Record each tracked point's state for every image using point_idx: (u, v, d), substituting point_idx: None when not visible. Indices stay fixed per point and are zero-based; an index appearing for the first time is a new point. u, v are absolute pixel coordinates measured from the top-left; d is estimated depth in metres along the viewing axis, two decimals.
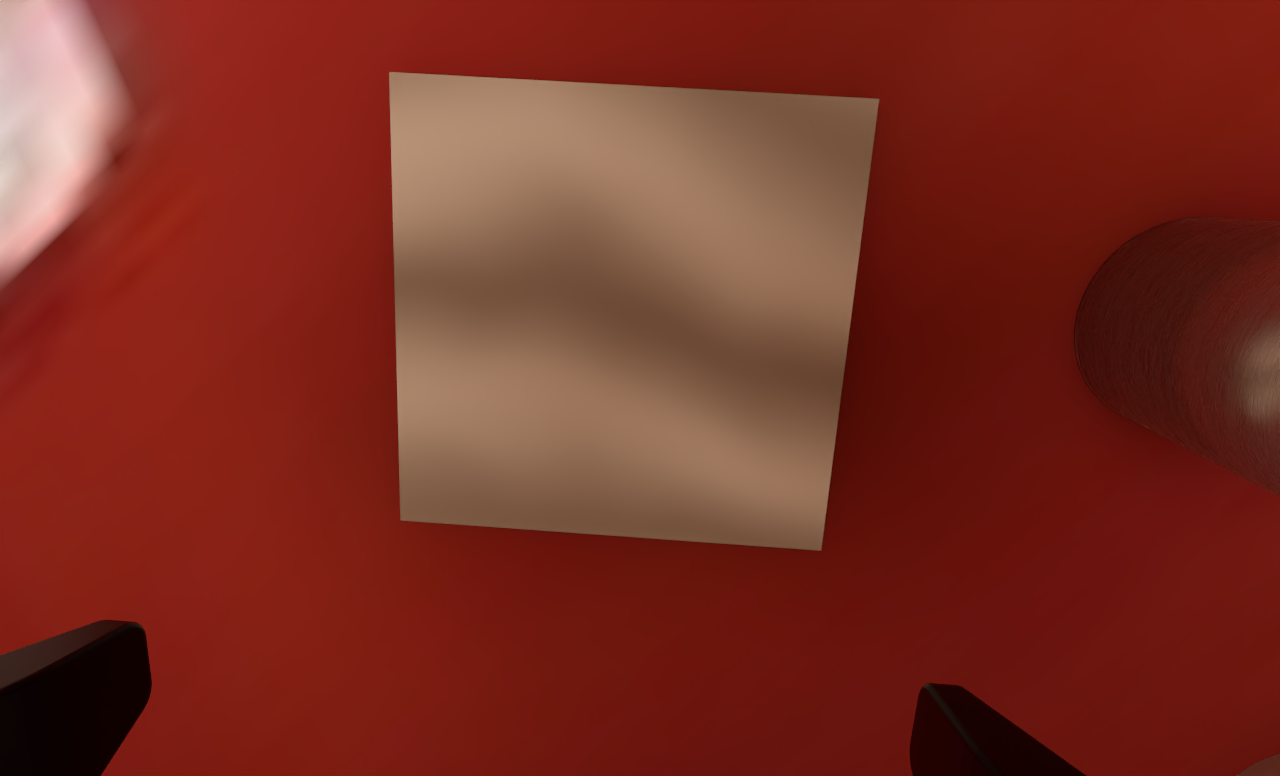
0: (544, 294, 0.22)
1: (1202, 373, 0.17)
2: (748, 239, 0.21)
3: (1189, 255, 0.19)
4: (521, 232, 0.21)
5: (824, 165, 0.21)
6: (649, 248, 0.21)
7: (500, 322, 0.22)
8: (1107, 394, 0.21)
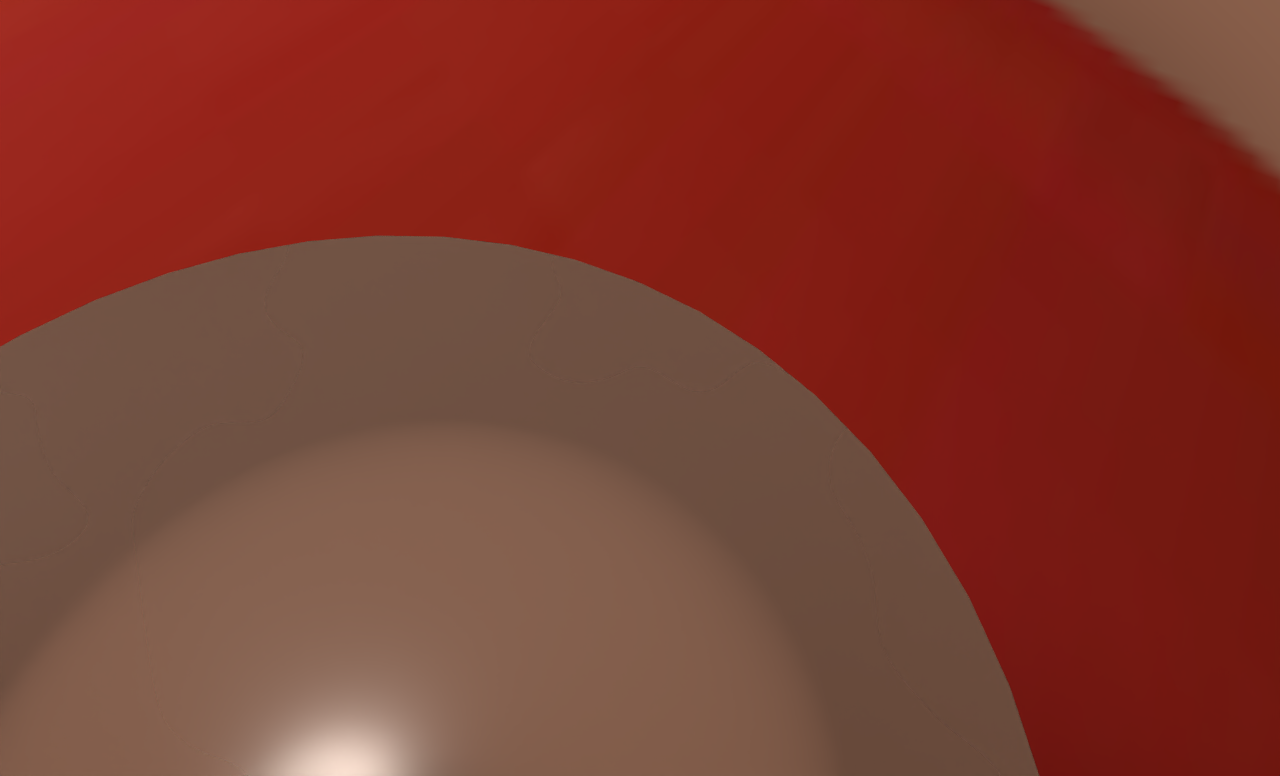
0: None
1: None
2: None
3: None
4: None
5: None
6: None
7: None
8: None
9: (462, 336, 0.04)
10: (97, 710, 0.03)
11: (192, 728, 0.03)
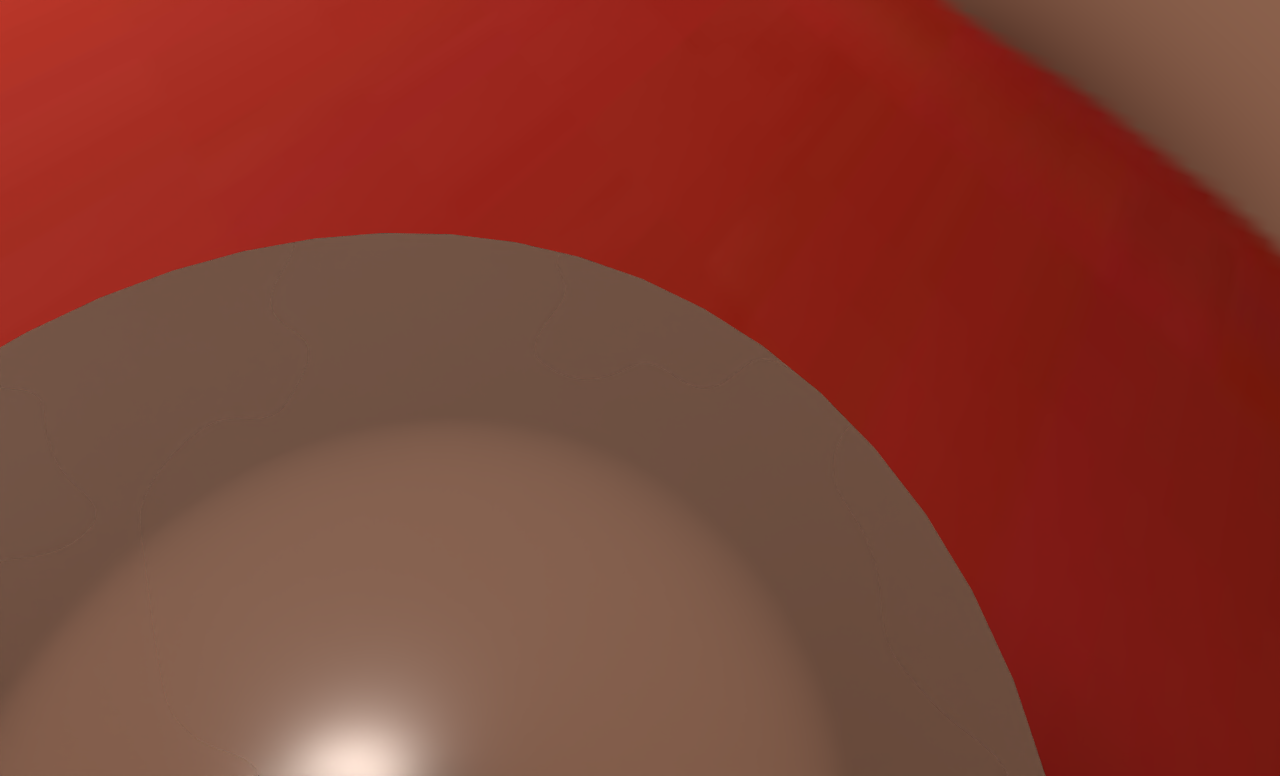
0: None
1: None
2: None
3: None
4: None
5: None
6: None
7: None
8: None
9: (468, 332, 0.04)
10: (108, 704, 0.03)
11: (198, 722, 0.03)
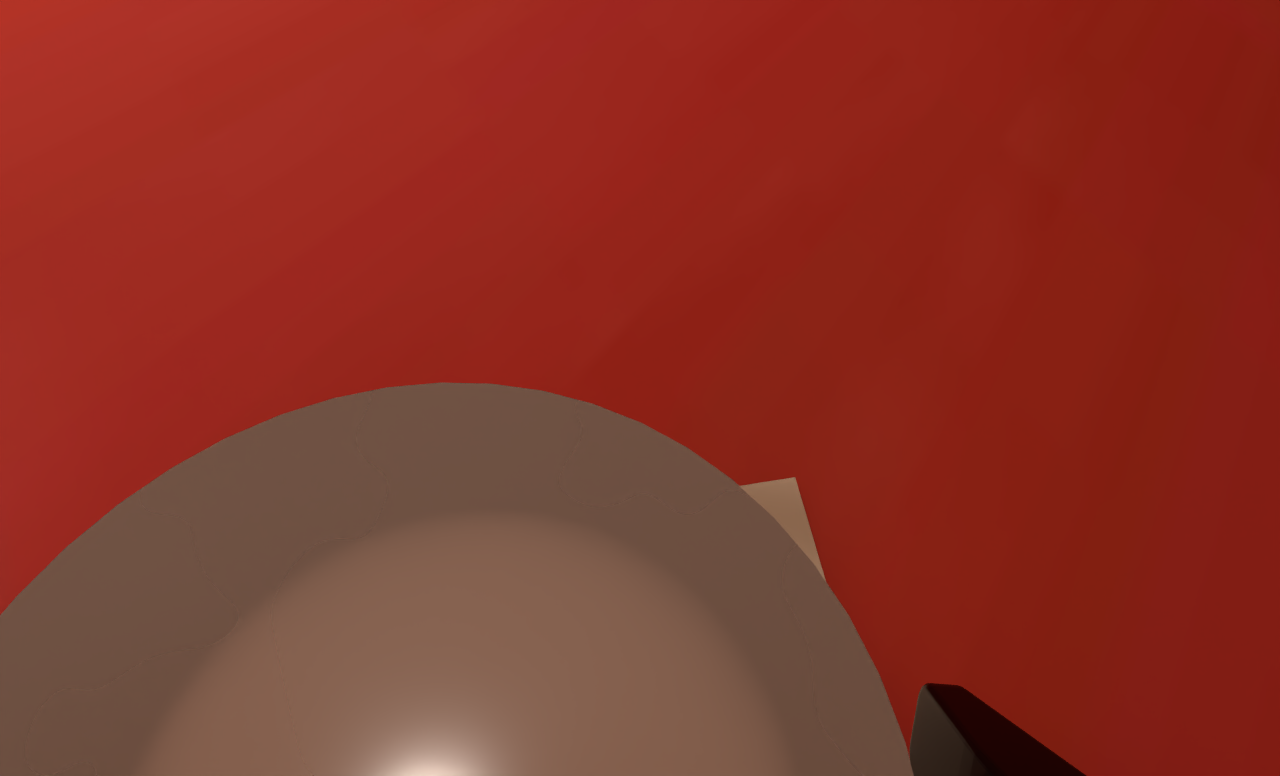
0: None
1: None
2: None
3: None
4: None
5: None
6: None
7: None
8: None
9: (508, 468, 0.05)
10: (260, 760, 0.04)
11: (326, 772, 0.04)
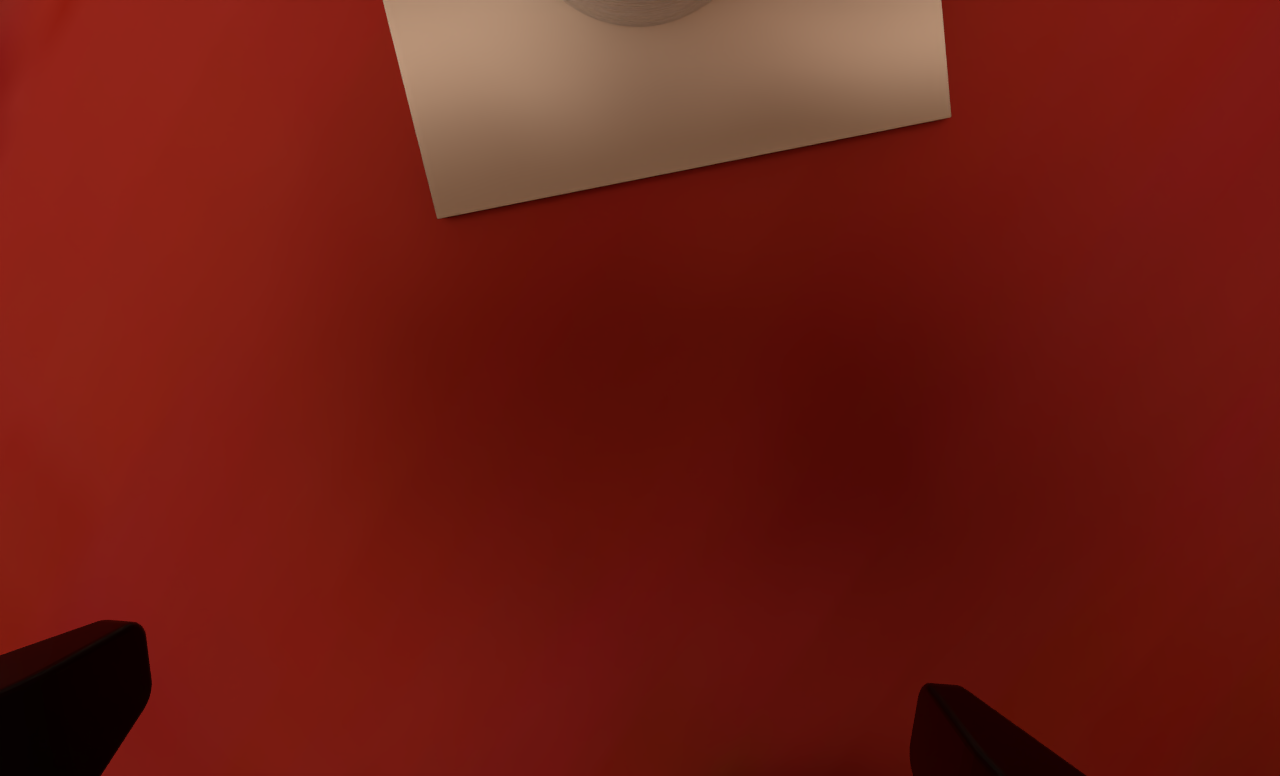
0: None
1: None
2: None
3: None
4: None
5: None
6: None
7: None
8: None
9: None
10: None
11: None
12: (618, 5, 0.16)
